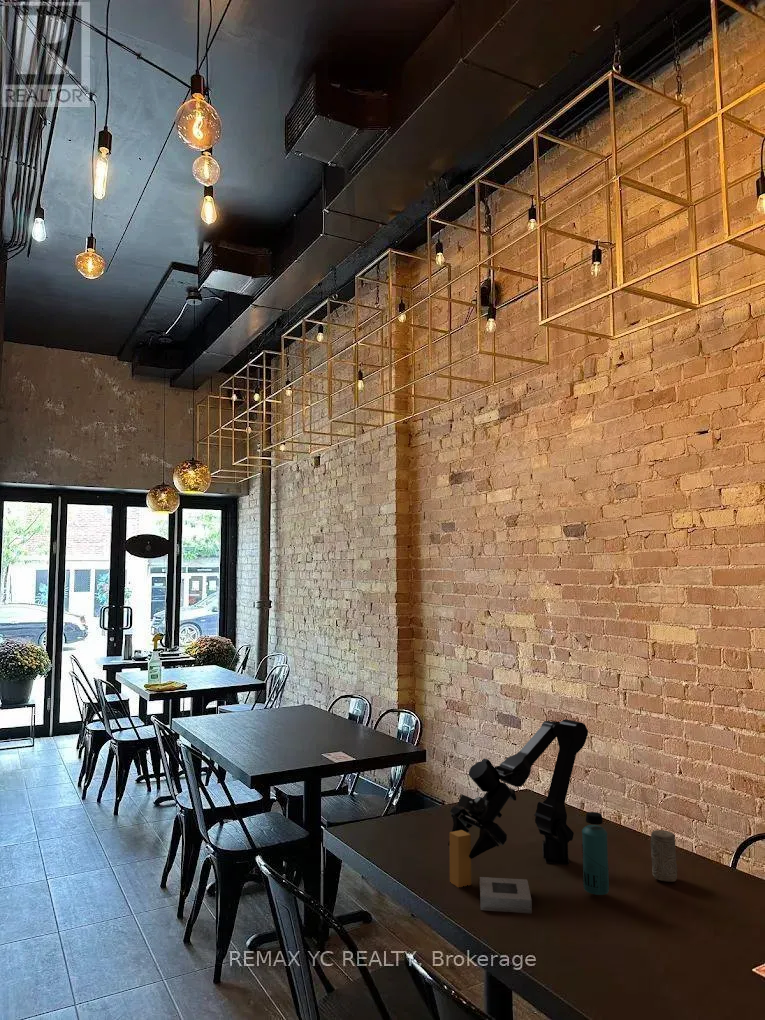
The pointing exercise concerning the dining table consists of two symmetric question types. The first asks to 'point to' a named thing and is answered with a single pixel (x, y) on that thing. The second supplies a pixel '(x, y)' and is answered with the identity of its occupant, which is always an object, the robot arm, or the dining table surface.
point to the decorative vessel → (663, 855)
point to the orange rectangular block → (460, 858)
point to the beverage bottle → (595, 856)
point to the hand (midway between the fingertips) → (459, 851)
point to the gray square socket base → (505, 895)
